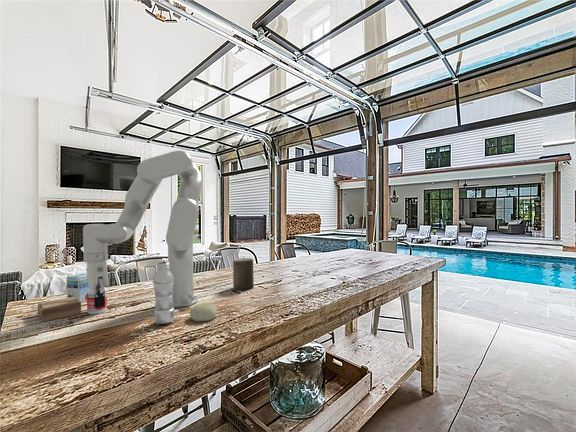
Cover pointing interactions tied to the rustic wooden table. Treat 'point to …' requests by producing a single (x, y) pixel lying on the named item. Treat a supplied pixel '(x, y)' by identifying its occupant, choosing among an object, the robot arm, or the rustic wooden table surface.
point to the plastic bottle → (163, 294)
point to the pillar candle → (243, 274)
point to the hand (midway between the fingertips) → (97, 304)
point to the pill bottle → (90, 302)
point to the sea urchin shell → (203, 312)
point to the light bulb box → (77, 286)
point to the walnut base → (58, 308)
